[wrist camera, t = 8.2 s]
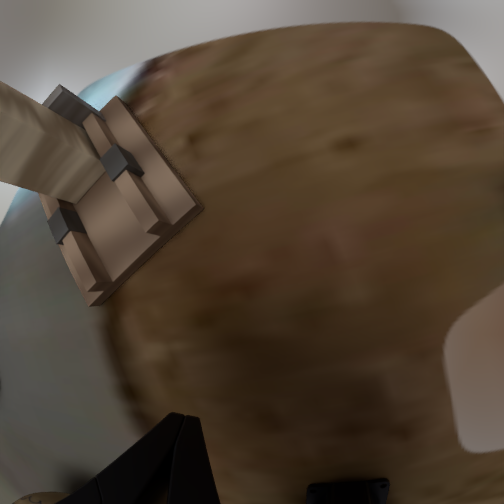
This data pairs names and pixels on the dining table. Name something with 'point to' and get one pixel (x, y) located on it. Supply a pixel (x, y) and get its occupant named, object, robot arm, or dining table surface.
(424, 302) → the dining table surface
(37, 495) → the decorative pitcher
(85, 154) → the birch peg
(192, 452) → the robot arm
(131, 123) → the peg housing
